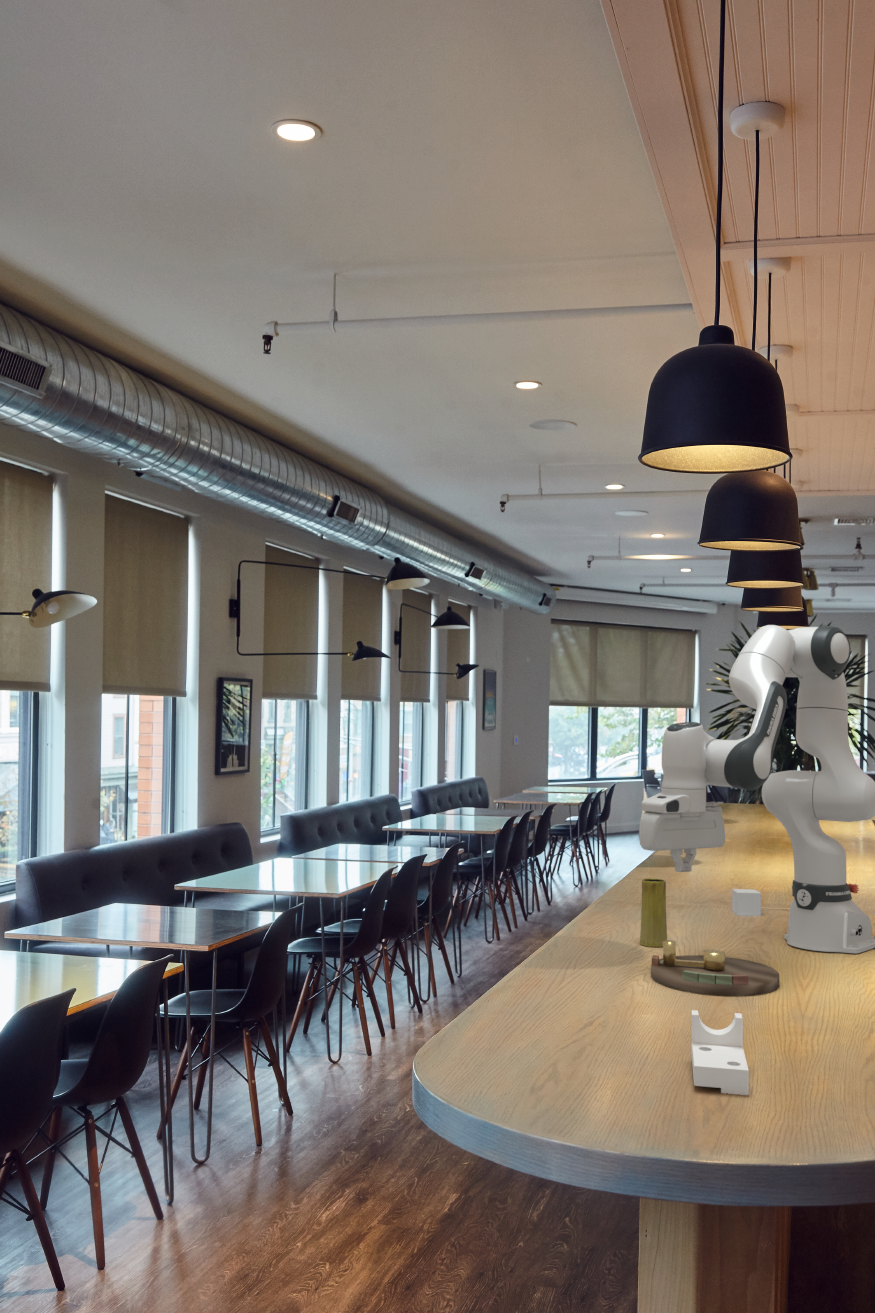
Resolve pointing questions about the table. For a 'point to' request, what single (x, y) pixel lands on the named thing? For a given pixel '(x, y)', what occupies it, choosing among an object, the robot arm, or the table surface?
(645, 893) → the vase
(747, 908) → the light grey cube
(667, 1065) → the table surface
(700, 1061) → the bracket
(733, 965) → the dial base
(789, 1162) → the table surface
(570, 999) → the table surface
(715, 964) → the brass dumbbell
